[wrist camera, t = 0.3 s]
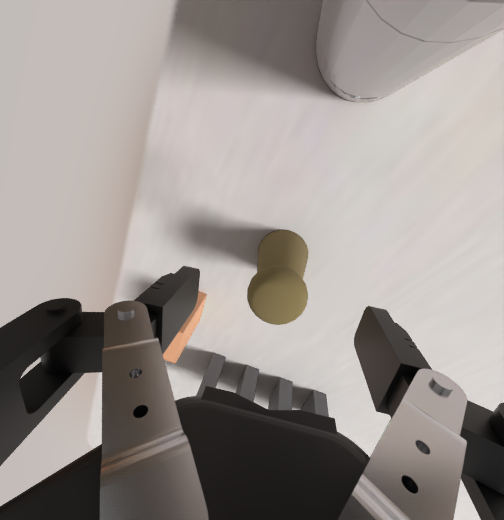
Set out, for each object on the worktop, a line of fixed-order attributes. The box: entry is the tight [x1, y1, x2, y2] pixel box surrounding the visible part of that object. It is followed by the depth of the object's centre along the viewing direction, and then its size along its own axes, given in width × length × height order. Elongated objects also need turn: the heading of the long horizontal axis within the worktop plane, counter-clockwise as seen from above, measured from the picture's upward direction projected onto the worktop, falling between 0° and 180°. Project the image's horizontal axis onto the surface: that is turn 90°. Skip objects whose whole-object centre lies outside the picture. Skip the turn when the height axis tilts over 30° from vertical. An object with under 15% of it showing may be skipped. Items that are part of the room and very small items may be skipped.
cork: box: [247, 230, 308, 325], centre depth 25 cm, size 6×6×11 cm
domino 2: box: [236, 365, 259, 402], centre depth 36 cm, size 5×2×8 cm, turn 162°
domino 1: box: [196, 353, 226, 396], centre depth 36 cm, size 5×2×8 cm, turn 162°
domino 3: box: [268, 377, 292, 410], centre depth 36 cm, size 5×2×8 cm, turn 162°
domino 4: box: [301, 390, 329, 417], centre depth 36 cm, size 5×2×8 cm, turn 162°
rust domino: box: [163, 291, 207, 363], centre depth 32 cm, size 5×2×8 cm, turn 162°
